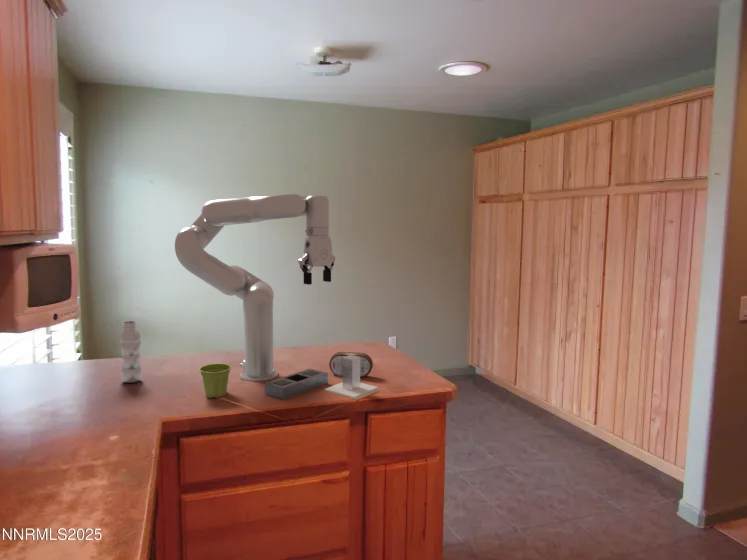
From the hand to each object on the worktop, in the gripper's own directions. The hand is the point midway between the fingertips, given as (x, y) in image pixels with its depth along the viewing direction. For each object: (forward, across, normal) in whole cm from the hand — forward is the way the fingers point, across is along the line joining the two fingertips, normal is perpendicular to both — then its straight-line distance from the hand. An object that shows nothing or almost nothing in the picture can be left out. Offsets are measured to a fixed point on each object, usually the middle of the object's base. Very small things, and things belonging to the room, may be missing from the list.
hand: (317, 282), depth 183 cm
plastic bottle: (+32, -44, +42) cm, 69 cm away
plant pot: (+32, -35, +10) cm, 49 cm away
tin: (+33, +6, -10) cm, 35 cm away
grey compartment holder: (+32, -16, -6) cm, 37 cm away
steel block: (+31, -6, -20) cm, 38 cm away
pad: (+32, -6, -20) cm, 38 cm away
